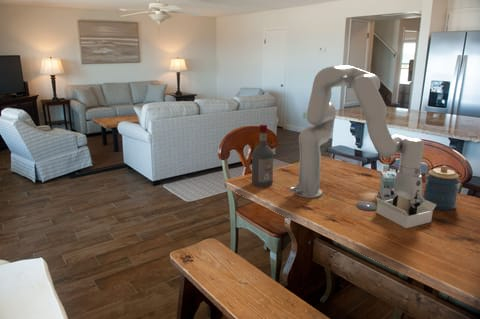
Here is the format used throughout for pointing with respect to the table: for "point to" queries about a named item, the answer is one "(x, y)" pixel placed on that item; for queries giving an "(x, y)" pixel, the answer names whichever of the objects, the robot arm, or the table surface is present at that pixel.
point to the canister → (442, 188)
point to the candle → (404, 204)
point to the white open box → (405, 213)
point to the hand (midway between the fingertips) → (403, 211)
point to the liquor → (262, 161)
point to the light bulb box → (386, 184)
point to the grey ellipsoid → (366, 205)
